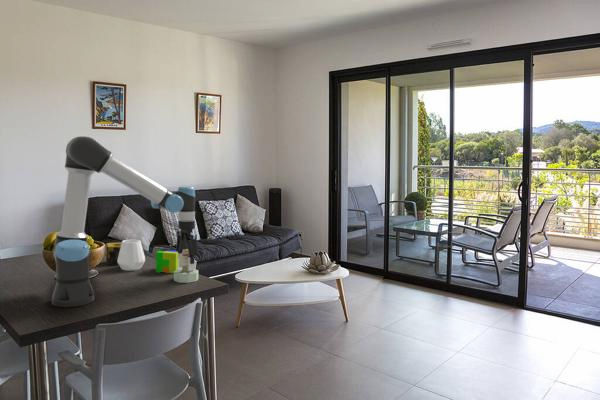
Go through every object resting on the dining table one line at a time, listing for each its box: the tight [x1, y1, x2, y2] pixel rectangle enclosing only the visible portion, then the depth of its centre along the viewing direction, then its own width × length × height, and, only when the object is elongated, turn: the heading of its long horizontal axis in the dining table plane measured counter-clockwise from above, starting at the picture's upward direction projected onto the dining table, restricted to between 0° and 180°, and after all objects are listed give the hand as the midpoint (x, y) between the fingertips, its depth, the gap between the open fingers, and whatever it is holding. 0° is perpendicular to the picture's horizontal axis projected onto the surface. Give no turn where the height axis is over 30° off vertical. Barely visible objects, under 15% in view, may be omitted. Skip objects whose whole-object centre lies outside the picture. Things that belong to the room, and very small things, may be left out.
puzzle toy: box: [155, 247, 182, 274], centre depth 238 cm, size 10×10×10 cm
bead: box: [173, 268, 199, 284], centre depth 222 cm, size 10×10×4 cm
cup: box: [117, 239, 146, 272], centre depth 239 cm, size 13×13×14 cm
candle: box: [105, 242, 122, 267], centre depth 250 cm, size 10×10×10 cm
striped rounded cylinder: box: [182, 248, 191, 273], centre depth 222 cm, size 4×4×14 cm
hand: (186, 268), depth 222 cm, fingers open, 8 cm apart
